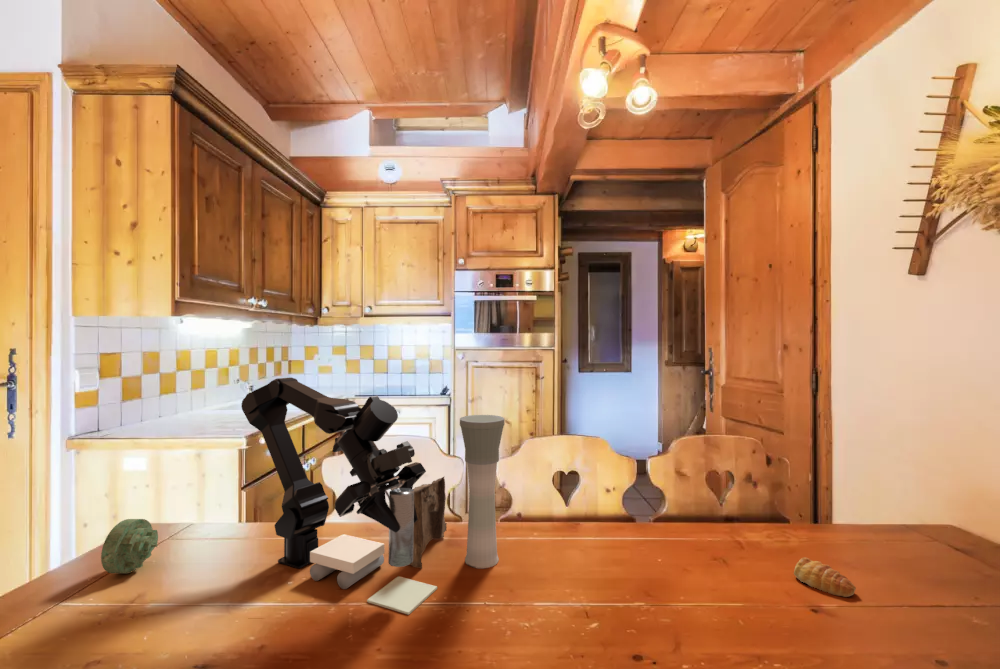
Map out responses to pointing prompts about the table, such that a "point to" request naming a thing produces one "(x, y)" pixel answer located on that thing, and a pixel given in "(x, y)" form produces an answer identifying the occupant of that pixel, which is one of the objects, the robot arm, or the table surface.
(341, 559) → the slab on rollers
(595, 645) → the table surface
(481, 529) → the container
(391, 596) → the mat
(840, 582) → the pastry
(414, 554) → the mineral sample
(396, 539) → the silver metal cylinder
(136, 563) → the decorative artifact
